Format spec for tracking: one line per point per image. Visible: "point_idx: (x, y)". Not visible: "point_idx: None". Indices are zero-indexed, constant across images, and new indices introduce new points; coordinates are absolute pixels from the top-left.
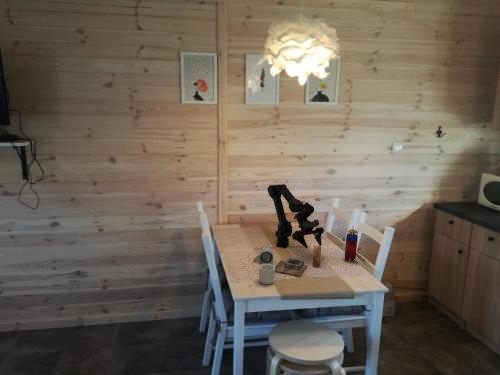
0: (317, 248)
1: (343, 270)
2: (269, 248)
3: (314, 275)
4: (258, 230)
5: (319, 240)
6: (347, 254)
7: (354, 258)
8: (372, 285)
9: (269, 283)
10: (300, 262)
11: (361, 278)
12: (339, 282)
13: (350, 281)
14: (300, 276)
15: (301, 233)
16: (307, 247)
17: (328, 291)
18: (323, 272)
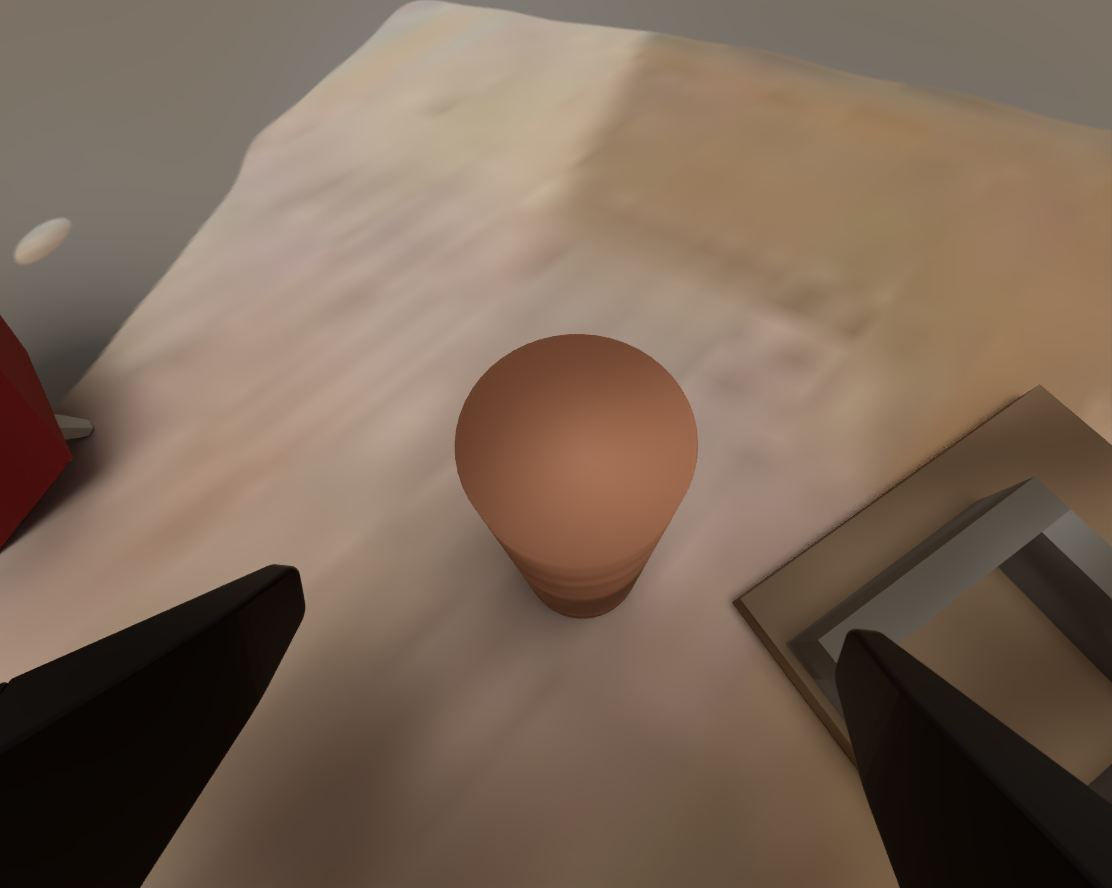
0: (652, 360)
1: (383, 301)
2: None
3: (799, 355)
4: None
5: (136, 693)
6: (18, 378)
7: (23, 349)
8: (443, 30)
9: None
10: (941, 604)
11: (401, 125)
12: (652, 148)
13: (542, 125)
14: (1005, 407)
15: None
16: (874, 630)
17: (873, 83)
18: None
